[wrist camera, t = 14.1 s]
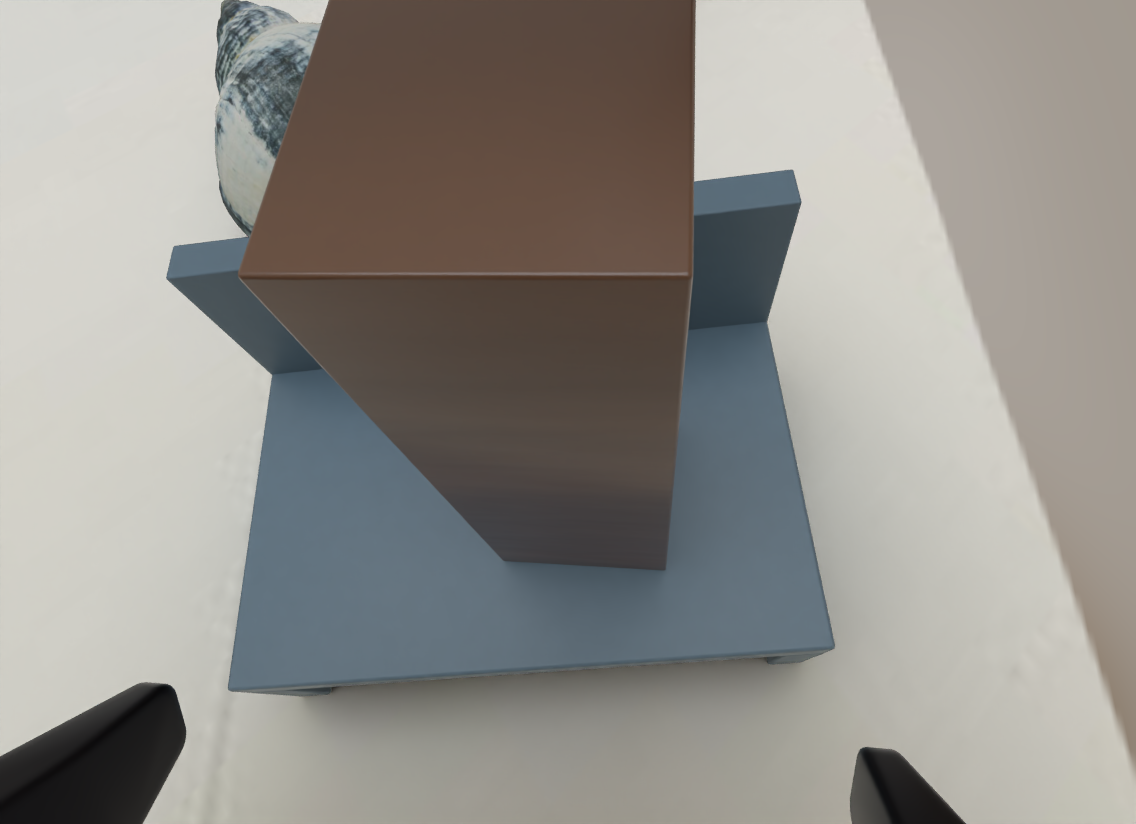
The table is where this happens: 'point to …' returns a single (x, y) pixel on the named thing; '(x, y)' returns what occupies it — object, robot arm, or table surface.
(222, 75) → the seashell
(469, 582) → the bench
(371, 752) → the table surface
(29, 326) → the table surface
